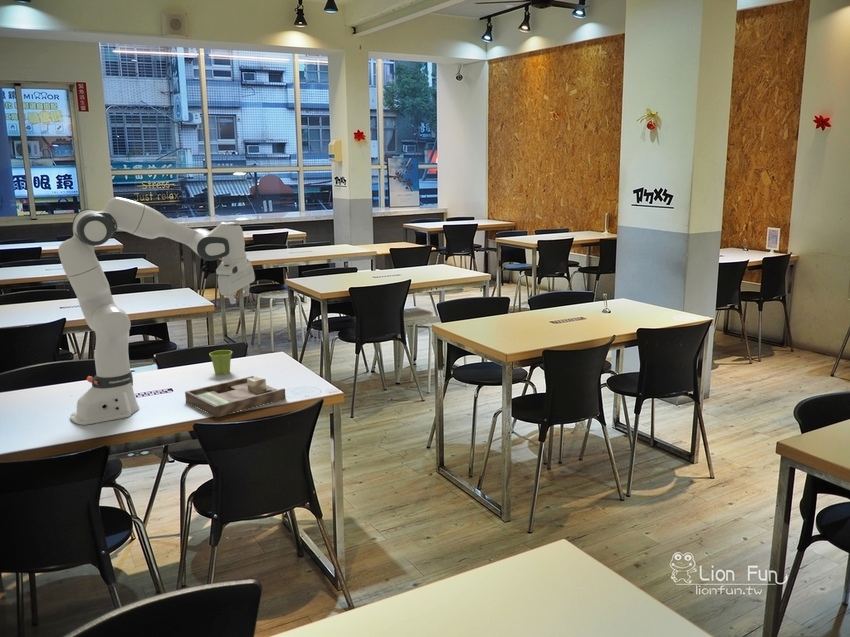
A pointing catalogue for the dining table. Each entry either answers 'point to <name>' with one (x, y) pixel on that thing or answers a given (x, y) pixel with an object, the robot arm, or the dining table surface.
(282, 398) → the box
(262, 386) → the cream block
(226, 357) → the plant pot
